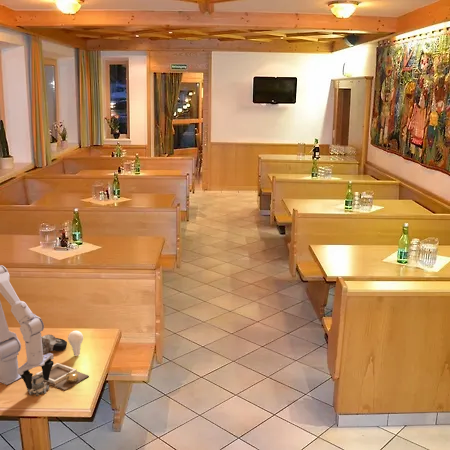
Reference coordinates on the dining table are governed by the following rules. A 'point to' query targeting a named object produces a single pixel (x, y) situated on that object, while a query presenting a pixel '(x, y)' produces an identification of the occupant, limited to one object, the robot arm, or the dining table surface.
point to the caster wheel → (52, 344)
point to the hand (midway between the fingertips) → (37, 384)
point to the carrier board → (63, 384)
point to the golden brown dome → (72, 377)
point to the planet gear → (38, 385)
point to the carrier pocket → (61, 376)
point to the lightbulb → (75, 341)
